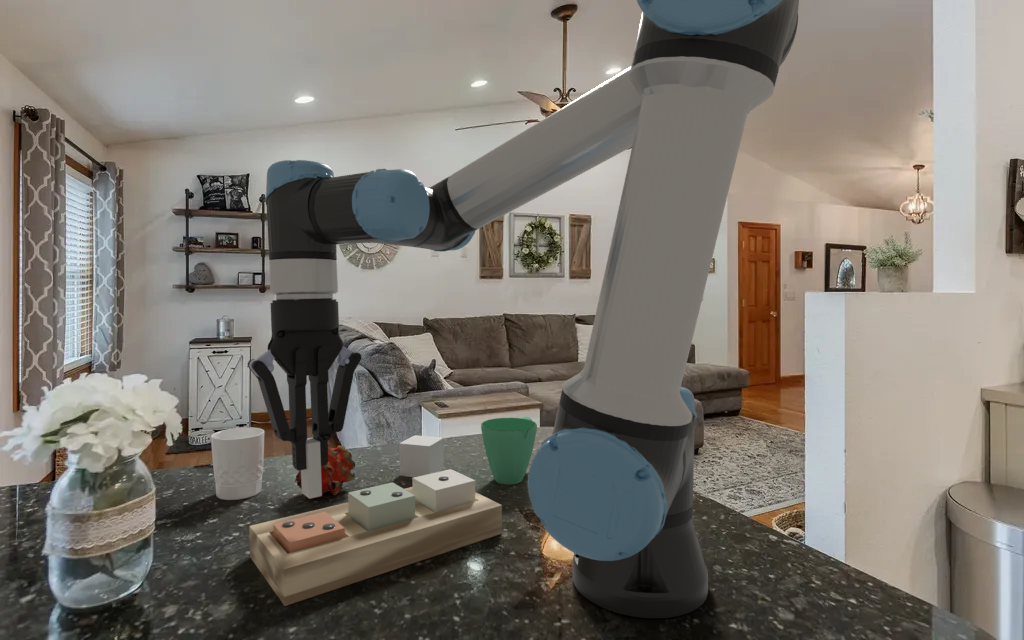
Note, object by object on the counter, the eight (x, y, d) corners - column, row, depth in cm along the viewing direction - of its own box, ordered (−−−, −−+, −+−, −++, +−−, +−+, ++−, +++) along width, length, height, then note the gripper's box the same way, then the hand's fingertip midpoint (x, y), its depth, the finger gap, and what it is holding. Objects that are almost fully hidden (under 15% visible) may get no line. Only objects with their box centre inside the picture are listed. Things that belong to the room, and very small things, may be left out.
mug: (525, 492, 94) (525, 433, 94) (471, 485, 98) (471, 427, 97) (552, 467, 108) (552, 414, 107) (504, 461, 111) (504, 410, 111)
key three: (345, 560, 68) (344, 526, 68) (290, 577, 64) (289, 541, 64) (325, 541, 73) (325, 510, 73) (273, 556, 69) (273, 522, 69)
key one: (475, 508, 80) (475, 479, 80) (435, 519, 76) (435, 489, 76) (450, 495, 85) (450, 468, 85) (412, 505, 81) (412, 476, 81)
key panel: (501, 533, 78) (501, 505, 78) (284, 606, 60) (283, 569, 60) (447, 503, 89) (447, 478, 89) (250, 557, 71) (249, 525, 71)
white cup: (201, 498, 91) (199, 436, 91) (239, 482, 99) (237, 425, 98) (239, 504, 89) (238, 441, 88) (276, 488, 96) (274, 429, 96)
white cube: (414, 466, 108) (414, 435, 108) (443, 469, 107) (443, 437, 106) (399, 476, 103) (399, 443, 102) (429, 479, 101) (429, 446, 101)
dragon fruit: (355, 489, 100) (307, 526, 89) (320, 458, 101) (269, 490, 90) (375, 456, 96) (328, 489, 86) (338, 424, 98) (288, 453, 87)
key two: (415, 525, 74) (415, 494, 74) (369, 539, 70) (368, 506, 70) (392, 510, 79) (392, 481, 79) (348, 522, 75) (348, 491, 75)
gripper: (345, 296, 74) (351, 475, 75) (237, 298, 66) (245, 498, 67) (370, 296, 68) (376, 489, 69) (254, 298, 60) (263, 517, 61)
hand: (311, 494), depth 68 cm, fingers closed
